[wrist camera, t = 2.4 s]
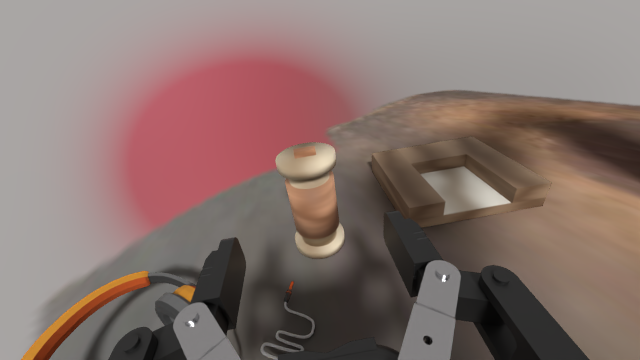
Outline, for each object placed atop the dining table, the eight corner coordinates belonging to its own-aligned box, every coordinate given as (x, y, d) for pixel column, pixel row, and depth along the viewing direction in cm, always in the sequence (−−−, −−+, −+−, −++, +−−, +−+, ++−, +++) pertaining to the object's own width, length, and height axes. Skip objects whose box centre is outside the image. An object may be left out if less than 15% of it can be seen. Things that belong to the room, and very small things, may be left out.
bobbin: (339, 219, 32) (329, 133, 26) (349, 253, 27) (339, 157, 21) (295, 227, 32) (275, 142, 26) (297, 263, 27) (272, 168, 21)
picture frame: (468, 154, 41) (471, 136, 40) (542, 205, 29) (552, 182, 28) (372, 171, 41) (371, 153, 39) (407, 230, 29) (409, 208, 27)
